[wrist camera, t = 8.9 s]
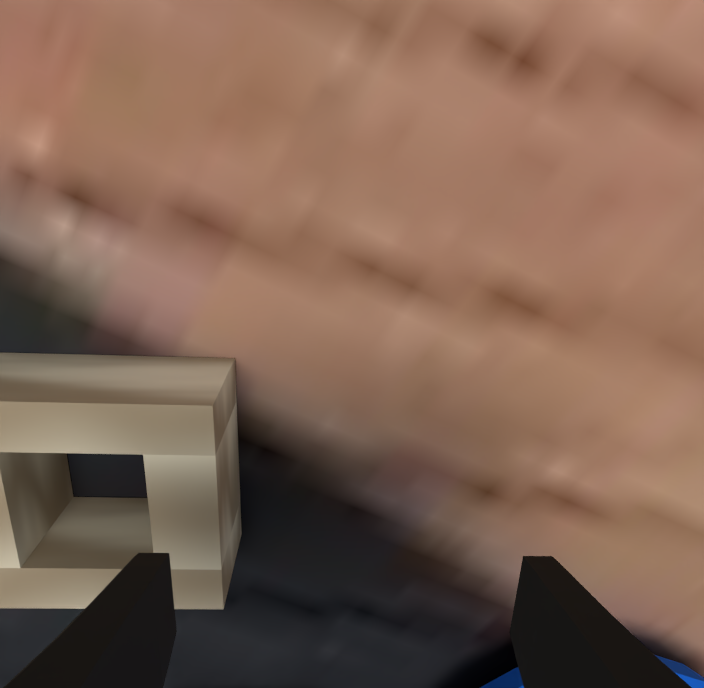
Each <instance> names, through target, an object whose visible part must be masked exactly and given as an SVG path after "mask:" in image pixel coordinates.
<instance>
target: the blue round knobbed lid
mask: <svg viewBox="0 0 704 688" xmlns="http://www.w3.org/2000/svg"><path fill="white" fill-rule="evenodd" d="M655 656H656V657H657V658H658V659H659V660H661V661H662V662H663V663H664V664H665V665H666V666H668V667H669V668H670V669H671V670H672V671H673V672H674V673H676V674H677V675H678V676H679V677H680V678H681V679H683V680H684V681H685V682H686V683H687V684H688V685H689V686H691V687H692V688H704V677H702V676H701V675H699V674H698V673H696V672H695V671H693V670H692V669H690V668H689V667H687V666H686V665H684V664H682V663H679V662H675V661H672V660H669V659H666V658H663V657H660V656H657V655H655ZM480 688H524V686H523V682H522V679H521V675H520V671H519V668H518V667H517V668H515V669H513V670H511V671H509V672H507V673H506V674H504V675H502V676H500V677H498V678H496V679H495V680H493V681H491V682H489V683H487V684H486V685H484V686H482V687H480Z"/></svg>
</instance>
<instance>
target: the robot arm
mask: <svg viewBox="0 0 704 688" xmlns="http://www.w3.org/2000/svg"><path fill="white" fill-rule="evenodd" d="M510 635H511V640H512V644H513V648H514V652H515V656H516V660H517V664H518V668H519V671H520V675H521V679H522V682H523V686H524V688H692V687H691V686H689V685H688V684H687V683H686V682H685V681H684V680H683V679H681V678H680V677H679V676H678V675H677V674H676V673H674V672H673V671H672V670H671V669H670V668H669V667H668V666H666V665H665V664H664V663H663V662H662V661H661V660H659V659H658V658H657V657H656V656H655V655H654V654H653V653H652V652H651V651H650V650H648V649H647V648H646V647H645V646H644V645H643V644H642V643H641V642H640V641H639V640H638V639H637V638H635V637H634V636H633V635H632V634H631V633H630V632H629V631H628V630H627V629H626V628H625V627H624V626H623V625H622V624H621V623H620V622H619V621H617V620H616V619H615V618H614V617H613V616H612V615H611V614H610V613H609V612H608V611H607V610H606V609H605V608H604V607H603V606H602V605H601V604H600V603H599V602H598V601H597V600H596V599H595V598H594V597H593V596H592V595H591V594H590V593H589V592H588V591H587V590H586V589H585V588H584V587H583V586H582V585H581V584H580V583H579V582H578V581H577V580H576V579H575V578H574V577H573V576H572V575H571V574H570V573H569V572H568V571H567V570H566V569H565V568H564V567H563V566H562V565H561V564H560V563H559V562H558V561H557V560H556V559H555V558H554V557H552V556H523V561H522V566H521V572H520V577H519V583H518V589H517V594H516V600H515V606H514V611H513V617H512V622H511V628H510ZM175 636H176V620H175V610H174V599H173V588H172V577H171V567H170V556H169V553H138V554H137V555H135V556H134V557H133V558H132V559H131V560H130V561H129V562H128V564H127V565H126V566H125V567H124V568H123V569H122V570H121V571H120V572H119V573H118V574H117V575H116V576H115V578H114V579H113V580H112V581H111V582H110V583H109V584H108V585H107V586H106V587H105V588H104V589H103V590H102V591H101V592H100V594H99V595H98V596H97V597H96V598H95V599H94V600H93V601H92V602H91V603H90V604H89V605H88V606H87V607H86V608H85V609H84V610H83V611H82V612H81V613H80V614H79V615H78V616H77V617H76V618H75V619H74V620H73V621H72V622H71V623H70V624H69V625H68V626H67V627H66V628H65V630H64V631H63V632H62V633H61V634H60V635H59V636H58V637H57V638H56V639H55V640H54V641H53V642H52V643H50V644H49V645H48V646H47V647H46V648H45V649H44V650H43V651H42V652H41V653H40V654H39V655H38V656H37V657H36V658H35V659H34V660H32V661H31V662H30V663H29V664H28V665H27V666H26V667H25V668H24V669H23V670H22V671H21V672H20V673H19V674H17V675H16V676H15V677H14V678H13V679H12V680H11V681H10V682H9V683H8V684H7V685H5V686H4V687H3V688H163V685H164V681H165V677H166V673H167V669H168V665H169V661H170V657H171V653H172V648H173V644H174V640H175Z"/></svg>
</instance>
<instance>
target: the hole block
mask: <svg viewBox="0 0 704 688" xmlns="http://www.w3.org/2000/svg"><path fill="white" fill-rule="evenodd" d="M67 453H81V454H141V455H143V458H144V468H145V477H146V487H147V496H148V498H111V497H73V490H72V484H71V478H70V472H69V465H68V459H67ZM241 534H242V532H241V505H240V478H239V451H238V424H237V396H236V369H235V358H205V357H164V356H122V355H81V354H40V353H0V608H72V609H85V608H86V607H87V606H88V605H89V604H90V603H91V602H92V601H93V600H94V599H95V598H96V597H97V596H98V595H99V594H100V592H101V591H102V590H103V589H104V588H105V587H106V586H107V585H108V584H109V583H110V582H111V581H112V580H113V579H114V578H115V576H116V575H117V574H118V573H119V572H120V571H121V570H122V569H123V568H124V567H125V566H126V565H127V564H128V562H129V561H130V560H131V559H132V558H133V557H134V556H135V555H137V554H138V553H169V556H170V567H171V577H172V588H173V599H174V609H224V605H225V601H226V597H227V593H228V589H229V584H230V580H231V576H232V572H233V568H234V564H235V559H236V555H237V551H238V547H239V543H240V539H241Z"/></svg>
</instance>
